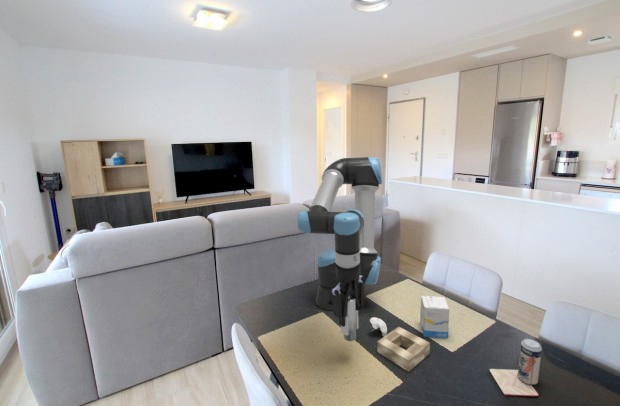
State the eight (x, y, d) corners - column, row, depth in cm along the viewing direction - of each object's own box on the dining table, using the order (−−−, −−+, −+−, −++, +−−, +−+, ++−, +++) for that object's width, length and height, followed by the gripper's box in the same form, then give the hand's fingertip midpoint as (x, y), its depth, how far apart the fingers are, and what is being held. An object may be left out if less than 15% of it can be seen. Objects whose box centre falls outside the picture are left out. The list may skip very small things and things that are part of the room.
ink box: (448, 338, 105) (450, 308, 103) (423, 336, 107) (424, 307, 105) (443, 324, 114) (444, 296, 111) (419, 322, 115) (420, 294, 113)
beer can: (513, 373, 89) (517, 338, 86) (528, 372, 89) (532, 336, 87) (526, 386, 84) (530, 349, 82) (542, 385, 84) (546, 347, 82)
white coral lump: (383, 332, 114) (393, 322, 111) (380, 344, 108) (390, 334, 105) (366, 318, 116) (375, 309, 113) (362, 329, 110) (371, 319, 107)
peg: (341, 336, 98) (339, 298, 94) (349, 331, 100) (348, 293, 97) (350, 343, 95) (349, 303, 91) (358, 337, 97) (357, 298, 94)
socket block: (377, 351, 101) (377, 341, 100) (398, 336, 108) (398, 326, 107) (408, 372, 91) (408, 360, 91) (429, 353, 99) (429, 342, 98)
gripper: (336, 276, 83) (339, 348, 89) (375, 258, 94) (375, 324, 99) (318, 268, 89) (322, 336, 95) (357, 252, 99) (358, 314, 105)
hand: (349, 329), depth 97 cm, fingers closed on peg, 4 cm apart
